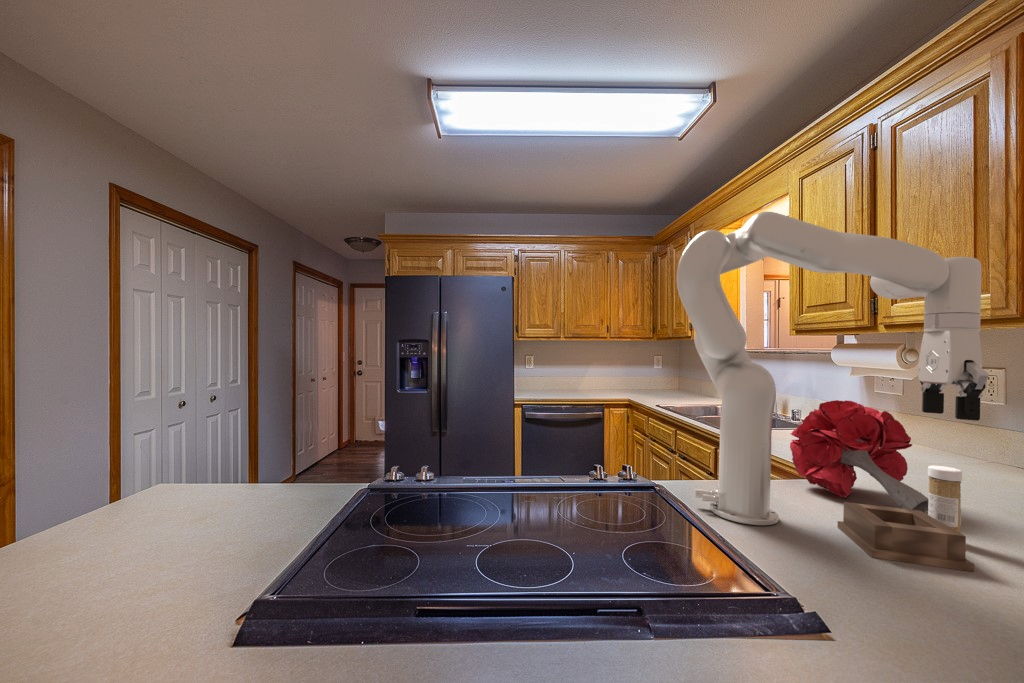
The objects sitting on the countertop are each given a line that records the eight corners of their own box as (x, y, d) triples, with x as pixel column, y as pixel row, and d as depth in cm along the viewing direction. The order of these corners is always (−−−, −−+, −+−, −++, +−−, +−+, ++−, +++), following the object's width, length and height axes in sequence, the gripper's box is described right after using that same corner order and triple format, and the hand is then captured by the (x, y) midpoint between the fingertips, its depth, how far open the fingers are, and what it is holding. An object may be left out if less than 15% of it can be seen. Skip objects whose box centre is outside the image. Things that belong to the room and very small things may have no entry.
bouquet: (932, 537, 101) (826, 446, 127) (995, 460, 90) (864, 378, 115) (857, 549, 97) (762, 453, 122) (913, 470, 85) (795, 382, 111)
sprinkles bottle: (964, 542, 82) (965, 469, 82) (957, 547, 79) (958, 472, 79) (930, 533, 86) (932, 463, 86) (923, 538, 83) (924, 466, 83)
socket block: (871, 557, 74) (872, 525, 74) (837, 527, 87) (838, 500, 87) (973, 571, 70) (974, 538, 70) (922, 538, 83) (922, 510, 83)
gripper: (901, 327, 92) (899, 409, 92) (957, 320, 76) (955, 420, 75) (945, 328, 90) (943, 412, 90) (1013, 321, 74) (1011, 424, 73)
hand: (949, 416), depth 83 cm, fingers open, 9 cm apart
